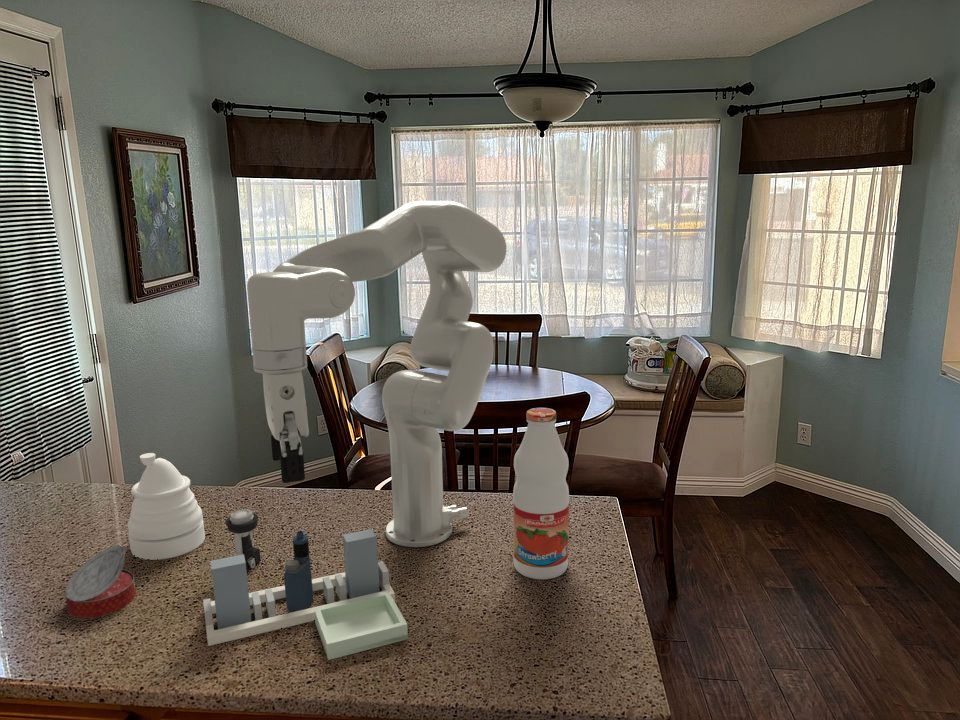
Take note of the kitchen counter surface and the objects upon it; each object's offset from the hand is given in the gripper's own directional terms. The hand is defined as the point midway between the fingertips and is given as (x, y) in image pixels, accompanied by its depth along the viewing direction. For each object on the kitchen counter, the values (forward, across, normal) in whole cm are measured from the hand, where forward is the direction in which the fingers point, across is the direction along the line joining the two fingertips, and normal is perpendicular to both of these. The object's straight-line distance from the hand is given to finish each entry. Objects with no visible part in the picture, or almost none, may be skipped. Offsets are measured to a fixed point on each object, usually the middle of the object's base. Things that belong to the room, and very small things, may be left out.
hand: (288, 469), depth 109 cm
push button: (+23, +16, +7) cm, 29 cm away
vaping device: (+23, 0, 0) cm, 23 cm away
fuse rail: (+23, 0, 0) cm, 23 cm away
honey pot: (+23, +32, +19) cm, 44 cm away
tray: (+23, -10, -7) cm, 26 cm away
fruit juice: (+23, -5, -40) cm, 47 cm away
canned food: (+24, +15, +29) cm, 40 cm away
